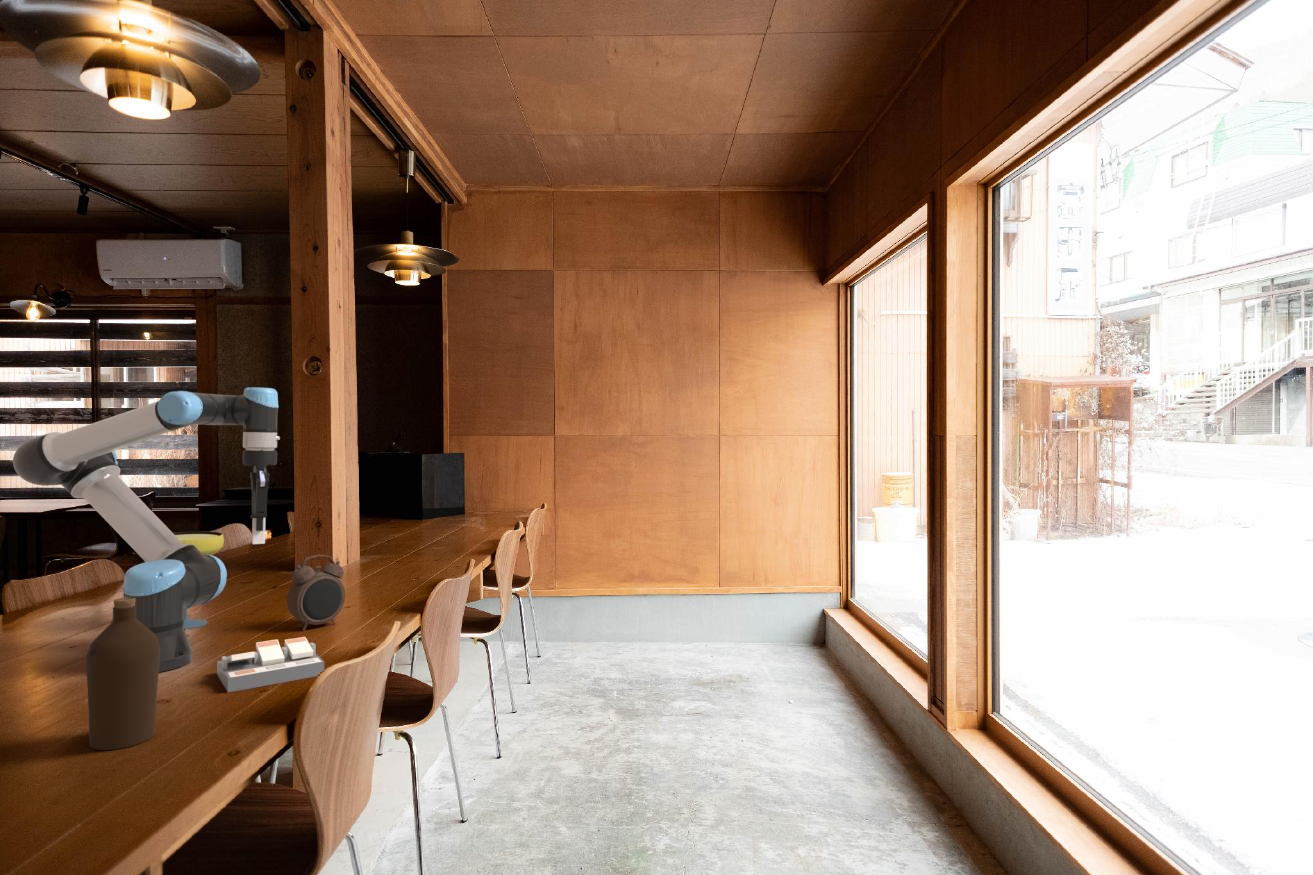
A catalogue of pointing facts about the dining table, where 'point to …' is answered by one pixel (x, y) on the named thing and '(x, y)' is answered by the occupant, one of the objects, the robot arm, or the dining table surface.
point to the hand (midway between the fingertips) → (258, 543)
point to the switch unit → (267, 671)
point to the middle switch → (270, 652)
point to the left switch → (240, 656)
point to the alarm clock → (316, 593)
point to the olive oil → (122, 681)
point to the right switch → (298, 648)
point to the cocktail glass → (207, 546)
